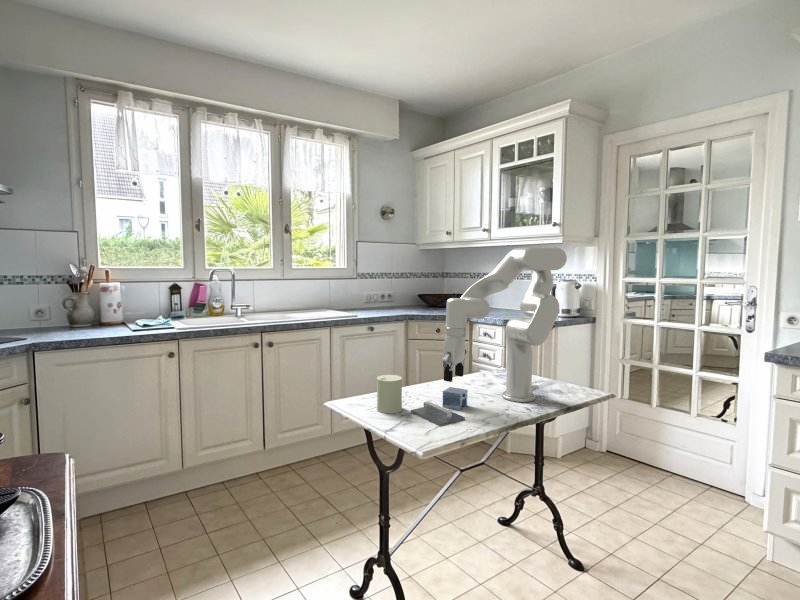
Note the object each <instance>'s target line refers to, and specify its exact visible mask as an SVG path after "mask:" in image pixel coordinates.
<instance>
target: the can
mask: <svg viewBox="0 0 800 600" xmlns="http://www.w3.org/2000/svg"><path fill="white" fill-rule="evenodd" d="M402 390H403V377H402V376H400V375H398V374H381V375H378V376H377V377H376V411H377V412H380V413H383V414H395V413H399V412H401V411H402V410H403V404H402V402H403V400H402V399H403V393H402V392H403V391H402Z"/></svg>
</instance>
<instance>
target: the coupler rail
mask: <svg viewBox="0 0 800 600" xmlns="http://www.w3.org/2000/svg"><path fill="white" fill-rule="evenodd" d="M410 413H411V414H414V415H416V416H418V417H420V418H422V419H424V420H426V421H428V422H429V423H432V424H435V425H436V426H438V427H441V426H445V425H449V424H452V423H456V422H461V421H465V420H466V419H465V418H466V417H465V416H463V415H460V414H458V413H456V412H453V411H452V410H449V409H448V408H445V407H443V406H440V405H437V404H435V403H433V402H431V401H425V402H423V407H419V408H415V409H414V408H413V409H411V410H410Z"/></svg>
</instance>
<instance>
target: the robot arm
mask: <svg viewBox="0 0 800 600" xmlns="http://www.w3.org/2000/svg"><path fill="white" fill-rule="evenodd" d="M567 258H568V257H567V254H566V251H564V249H562V248H560V247H557V246H556V247H528V246H527V247H516V248H513V249H511V250H510V251H509V252H508V253H507V254H506V255H505V256H504V257H503V258H502V260H501V261H500V262H499V263H497V265H496V266H495V268H494V269H492V270H491V272H490V273H489V274H487V275H485V276H483V277H482V278H481V279H479V280H478V281H476V282H474V283H473V284H472V285H471V286H470V287H469V288H468V289H467V290H466V291H465V292H464V293H463V294H462V295H461V297H451V298H448V299H447V300H446V307H445V311H446V312H445V333H444V334H445V335H444V336H445V337H444V341H443V349H442V350H443V351H442V360H441V361H442V365H443V381H444V382H449V383H452V382H453V374H454V376H456V377H464V371H465V370H464V367H465V361H466V358H465V357H466V339H465V338H466V337H467V324H468V323H467V321H468V319H469V318H470V319H475V320H481V319H485V318H486V317H487V316H489V314H490V312H491V307H490V304H489V302H488V301H487V300H485V299H486V298H487V297H489V296H491V295H493V294H497V293H499V292H502V291H505V290H506V289H509V287H510V286H511V285H512V284H513V282H514V281H515V280H516V279H517V278H518V277H519V275H521V274H522V272H524V271H530V272H531V279H530V283H529V285H528V287H527V290H526V291H525V293H524V296H523V297H522V298H521V299H522V300H521V302H520V306H519V308H520V309H519V310H520V312H521V314H523V316H527V317H530V318H526V317H520V316H516V317H512V318H510V319H509V320H508V321H507V323H506V325H505V330H504V331H505V339H506V348H507V349H506V351H507V354H506V356H507V357H506V387H505V389H506V390H504V391H503V392H502V393H501V395H502V398H503V399H505V400H508V401H512V402H517V403H527V402H528V403H529V402H533V401H534V400H536V395H535V394H534V393H533V392H534V391H538V390H539V385H537V384H535V385H532V382H533V381H532V380H533V348H532V346H534V347H539V346H541V345H543V344H544V343H545V342H546V340H547V339H548V337H549V335H550V333H551V331H552V330H553V327H554V326H555V325H554V324H555V322H556V320H557V319H558V315H559V313H560V303H559V301H558V298H556V296H554V295H552V294H551V292H552V289H553V286H554V279H553V275H552V271H558V270H561V269H562V268H564V266H566V263H567V260H568V259H567ZM454 365H455V366H454ZM453 368H454V371H453ZM453 372H454V373H453Z"/></svg>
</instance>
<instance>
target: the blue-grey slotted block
mask: <svg viewBox="0 0 800 600" xmlns="http://www.w3.org/2000/svg"><path fill="white" fill-rule="evenodd" d="M468 391H469V390H468V389H465V388H459V387H452V386H450V387H447V388H446V389H444V390H442V408H445V409H451V410H456V411H462V409H463V407H467V406H468Z"/></svg>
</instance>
